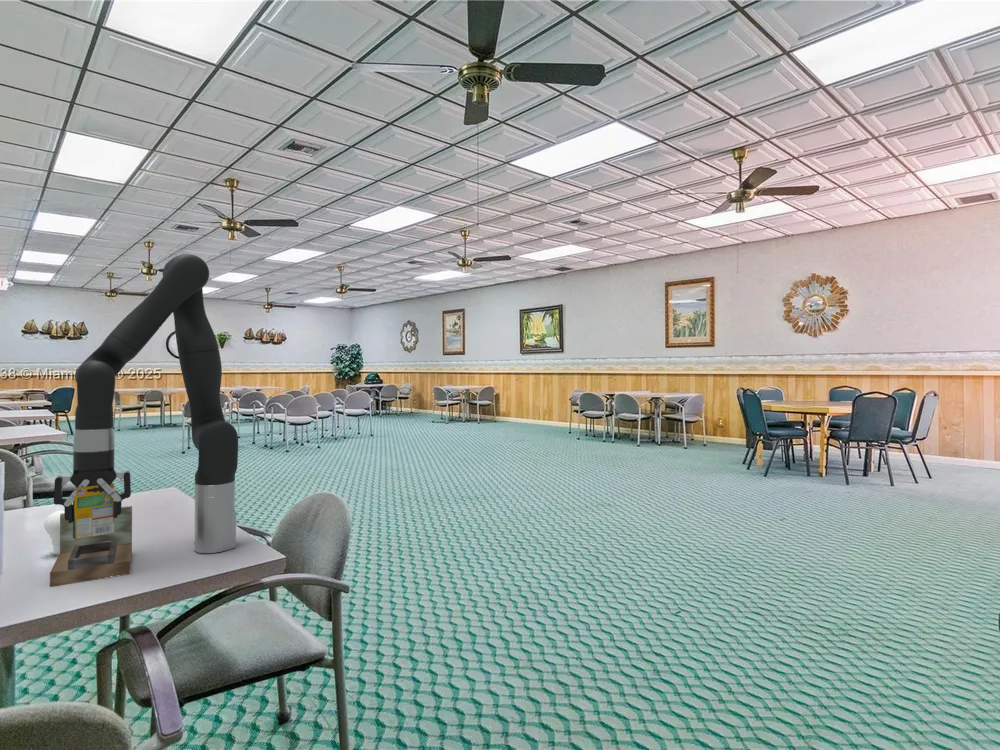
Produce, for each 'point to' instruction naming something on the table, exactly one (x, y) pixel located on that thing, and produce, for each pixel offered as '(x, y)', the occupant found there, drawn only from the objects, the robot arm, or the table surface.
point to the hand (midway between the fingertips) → (93, 519)
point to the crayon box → (92, 513)
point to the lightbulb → (54, 529)
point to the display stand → (93, 552)
